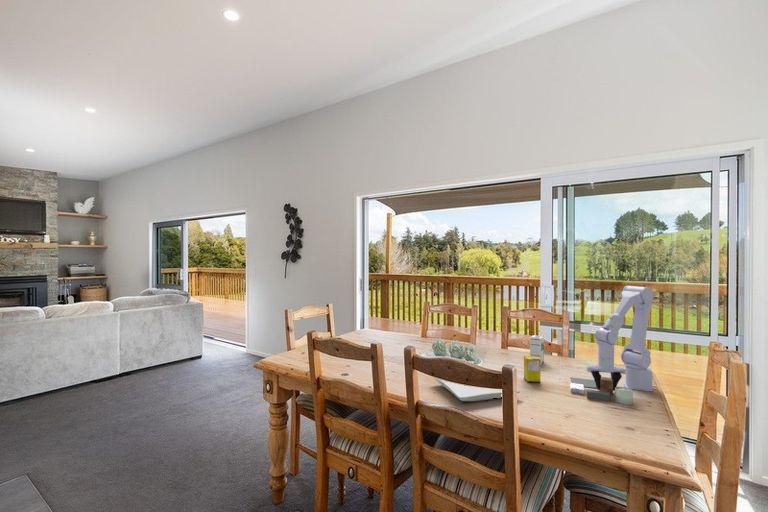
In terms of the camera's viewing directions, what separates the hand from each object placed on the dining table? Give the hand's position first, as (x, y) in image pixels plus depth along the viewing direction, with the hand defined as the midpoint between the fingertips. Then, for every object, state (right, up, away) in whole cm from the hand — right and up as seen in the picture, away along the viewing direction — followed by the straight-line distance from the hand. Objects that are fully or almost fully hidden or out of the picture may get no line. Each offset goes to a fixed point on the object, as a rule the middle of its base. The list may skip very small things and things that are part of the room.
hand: (605, 389), depth 157 cm
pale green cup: (+2, -2, -9) cm, 10 cm away
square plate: (-55, -2, +3) cm, 55 cm away
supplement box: (-25, -2, +15) cm, 29 cm away
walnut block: (0, -1, 0) cm, 1 cm away
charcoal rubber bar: (-7, -2, -6) cm, 10 cm away
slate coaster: (-3, -1, +11) cm, 11 cm away
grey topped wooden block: (-11, -2, +2) cm, 11 cm away
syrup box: (-12, -1, +42) cm, 43 cm away
